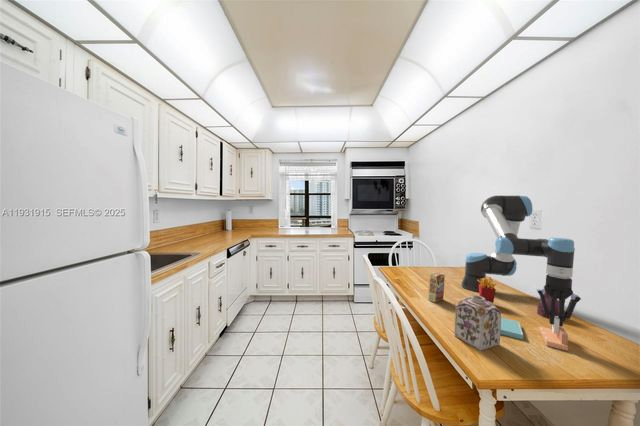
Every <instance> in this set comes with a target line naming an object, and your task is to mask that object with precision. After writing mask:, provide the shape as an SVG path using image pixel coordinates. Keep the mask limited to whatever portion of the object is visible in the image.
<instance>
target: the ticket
mask: <svg viewBox="0 0 640 426" xmlns="http://www.w3.org/2000/svg"><path fill="white" fill-rule="evenodd" d="M500 335H502V336H507V337H511V338H515V339H517V340H523V341H524V332H523V330H522V327H521V325H520V322H519V321H518V320H514V319H510V318H504V317H501V331H500Z"/></svg>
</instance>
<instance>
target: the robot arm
mask: <svg viewBox="0 0 640 426" xmlns="http://www.w3.org/2000/svg"><path fill="white" fill-rule="evenodd" d="M480 212H481V215H482V216H483V217H484V218H485V219H486V220H487V221H488V223H489V225H490V227H491V229H492V230H493V233H494V235H495V237H496V240H495V243H494V244H495V245H494V247H495V250H494V251H493V252H491V254H490V256H489V255H487V253H483V252H472V253H471V252H470V253H468V254H466V255H465V262H464V263H465V264H464V265H465V266H464V269H465V270H464V277H463V278H462V281H461V285H460V286H461V288H463V289H465V290H468V291H471V290H472V291H471V292H476V291H477V293H479V284H480V283H479V282H478V281H477V279H478V280H480V279H482V278H485V277H486V276H487V275H495V276H504V277H505V276H506V277H507V276H508V277H510V276H513V275H514V274H515V273H516V272H517V271H516V270H517V267H518V266H517V260H516V259H515V257H514V256H513V255H517V256H531V257H543V258H546V276H545V285H544V286H543V287H542V288H537V289H536V292H537V293H538V295H539V298H540V300H541V302H542V306H543V310H544V312H545V314H547V315H549V316H550V317H549V319H548V320H549V325H551V326H552V327H551V329H552V332H553V333H554V334H558V335H559V326H561V327H563V325H564V321H565V320H564V319H568V320H569V319H571V317H572V314H573V312H574V310H575V307H576V306H577V303H578V302H579V301H581V300H582V298H581V297H580V296H579V295H577V294H576V293H574V291H573V288H572V287H573V279H572V278H573V272H574V271H573V269H574V259H575V252H576V249H575V241H574V240H573V239H570V238H563V237H550V238H549V239H545V238H520V237H518V233H519V229H520V225H521V223H522V222H524V221H525V220H526V217H530V216H531V215H532V214H533V203H532V200H531V199H530V197H528V196H525V195H492V196H490V197H487V199H485V200H484V201H483V203H482V204H481V206H480ZM486 278H487V277H486ZM480 281H481V280H480ZM484 284H485V283H484ZM545 291H546V292H547V293H548V294H549V296H550V312H549V311H548V308H547V304H546V300H545V296H544V294H545ZM569 297H570V300H569V303H568V305H567V307H566V310H565V303H566V300H567V299H568V298H569ZM556 299H558V300H559V306H558V316H555V306H556ZM564 312H565V314H564ZM563 320H564V321H563Z"/></svg>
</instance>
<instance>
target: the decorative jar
mask: <svg viewBox="0 0 640 426" xmlns="http://www.w3.org/2000/svg"><path fill="white" fill-rule="evenodd" d="M501 318H502V312H501V310H500V309H498V307H497V306H496V304H494V302H493V303H491V302H489V301H486V300H485V298H483V297H481V296H479V295H471V296H466V297H462V298H460V300H459V301H458V302H457V303H456V304H455V315H454V332H453V333H454V337H456V338H458V339H459V340H460V341H463V342H465V343H466V344H468V345H470V346H472V347H474V348H475V349H477V350H479V351H481V352H482V351H485V350H487V349H490V348H493V347H495V346H500V342H501V334H500V331H501Z"/></svg>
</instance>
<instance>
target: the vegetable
mask: <svg viewBox="0 0 640 426" xmlns="http://www.w3.org/2000/svg"><path fill="white" fill-rule="evenodd" d="M544 296H545V300H546V304H547V308H548V311H549V312H550V296H549V294H548V293H547V292H546V291H545V294H544ZM558 306H559V299H556V306H555V316H558ZM536 314H538V315H539V316H541V317H542V318H544V319H545V318H546V319H548V320H549V317H550V316H549V315H547V314H545V312H544V310H543V306H542V302H541V299H540V301H539V302H538V304H537V310H536ZM564 314H565V311H564ZM566 319H567V318H566ZM566 319H564V320H563V322H564V321H566Z"/></svg>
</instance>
